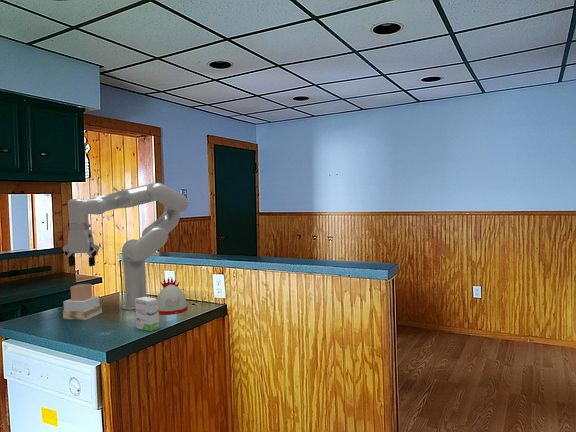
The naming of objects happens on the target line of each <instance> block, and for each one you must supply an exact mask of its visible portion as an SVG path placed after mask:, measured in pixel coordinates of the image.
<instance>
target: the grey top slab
mask: <svg viewBox="0 0 576 432" xmlns="http://www.w3.org/2000/svg"><path fill="white" fill-rule="evenodd" d="M62 303H63V311H83V312H84V311H86V310H89V309H92V308H94V307H97V306H99V305H101V304H100V296H93V295H92V298H89V299H87V300H85V301H71V298H70V299H66V300H63V302H62Z"/></svg>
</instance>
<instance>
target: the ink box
mask: <svg viewBox="0 0 576 432" xmlns="http://www.w3.org/2000/svg"><path fill="white" fill-rule="evenodd" d="M135 306H136V309H135V322H136V323H135V324H136V329H138V330H143V331H147V332H152V331H156V330H158V329H160V314H159V311H158V299H157V298H156V297H154V298H153V297H150V296H149V297H141V298H136V299H135Z"/></svg>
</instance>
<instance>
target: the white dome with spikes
mask: <svg viewBox="0 0 576 432" xmlns="http://www.w3.org/2000/svg"><path fill="white" fill-rule="evenodd" d="M166 281H167V282H166ZM176 282H177V279H174V280H173V277H171V278H170V277H168V278H167V280H166V279H165V278H163V282H162V281H160V284H161V286H162V287H163V288H162V289H161V290H160V292H159V294H157V298H156V299H158V311H159V316H160V315H161V316H170V315H171V316H172V315H178V314H182V313H184V312H187V311H188V302H187V299H186V297H185V294H184V293H183V291H182V290H181V288H180V287H179V285H180V281H178V282H177V283H176Z"/></svg>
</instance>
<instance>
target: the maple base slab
mask: <svg viewBox="0 0 576 432" xmlns="http://www.w3.org/2000/svg"><path fill="white" fill-rule="evenodd" d="M101 313H103V305H102V304H100V305H99V306H97V307H94V308H92V309H89V310H86V311H84V312H83V311H64V310H62V318H63V320H84V321H86V320H89V319H91V318H93V317H95V316H97V315H100V314H101Z"/></svg>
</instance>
